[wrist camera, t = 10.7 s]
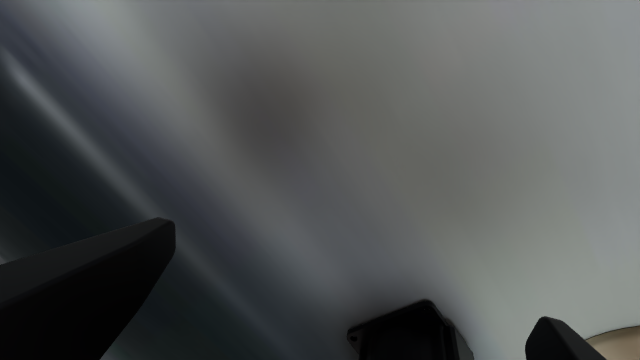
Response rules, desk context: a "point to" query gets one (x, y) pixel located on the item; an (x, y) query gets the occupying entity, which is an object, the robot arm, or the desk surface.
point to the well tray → (618, 344)
